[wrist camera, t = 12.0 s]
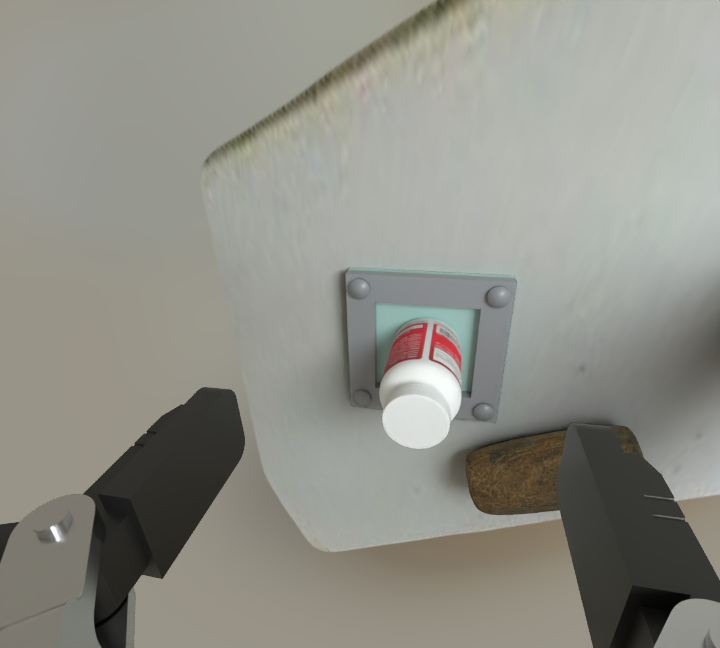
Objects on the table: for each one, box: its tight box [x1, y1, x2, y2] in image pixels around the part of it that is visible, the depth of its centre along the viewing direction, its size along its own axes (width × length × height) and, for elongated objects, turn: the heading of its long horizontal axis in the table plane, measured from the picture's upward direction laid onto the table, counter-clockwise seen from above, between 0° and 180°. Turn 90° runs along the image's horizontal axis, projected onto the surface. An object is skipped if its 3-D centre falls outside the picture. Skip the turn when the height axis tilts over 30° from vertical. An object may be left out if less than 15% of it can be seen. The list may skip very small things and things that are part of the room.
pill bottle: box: [379, 318, 462, 449], centre depth 33 cm, size 6×6×11 cm
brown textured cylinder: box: [466, 426, 644, 515], centre depth 38 cm, size 15×7×7 cm, turn 120°
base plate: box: [345, 268, 517, 423], centre depth 38 cm, size 14×14×2 cm
